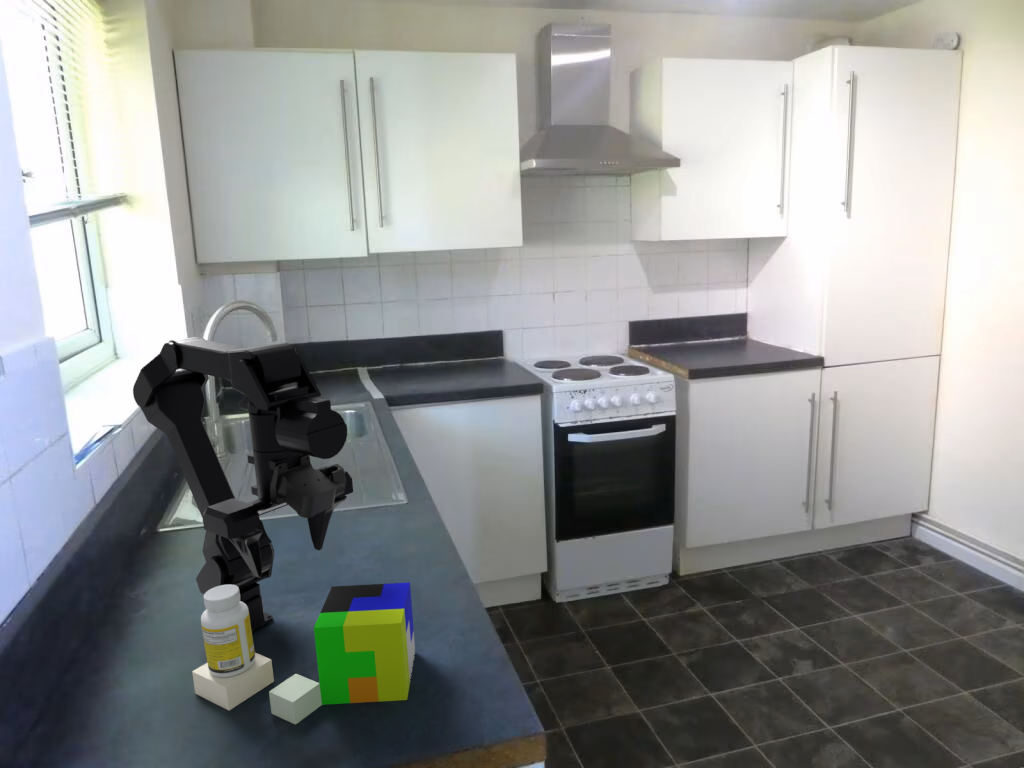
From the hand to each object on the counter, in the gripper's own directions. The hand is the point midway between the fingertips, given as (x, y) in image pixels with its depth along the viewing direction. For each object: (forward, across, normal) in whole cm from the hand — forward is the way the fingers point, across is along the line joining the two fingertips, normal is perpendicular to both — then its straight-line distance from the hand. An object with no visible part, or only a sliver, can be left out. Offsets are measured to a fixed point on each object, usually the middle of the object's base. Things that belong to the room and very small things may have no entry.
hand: (289, 562), depth 94 cm
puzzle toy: (+13, +2, -12) cm, 18 cm away
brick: (+13, -7, -9) cm, 18 cm away
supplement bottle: (+10, -9, 0) cm, 14 cm away
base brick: (+13, -9, 0) cm, 16 cm away
